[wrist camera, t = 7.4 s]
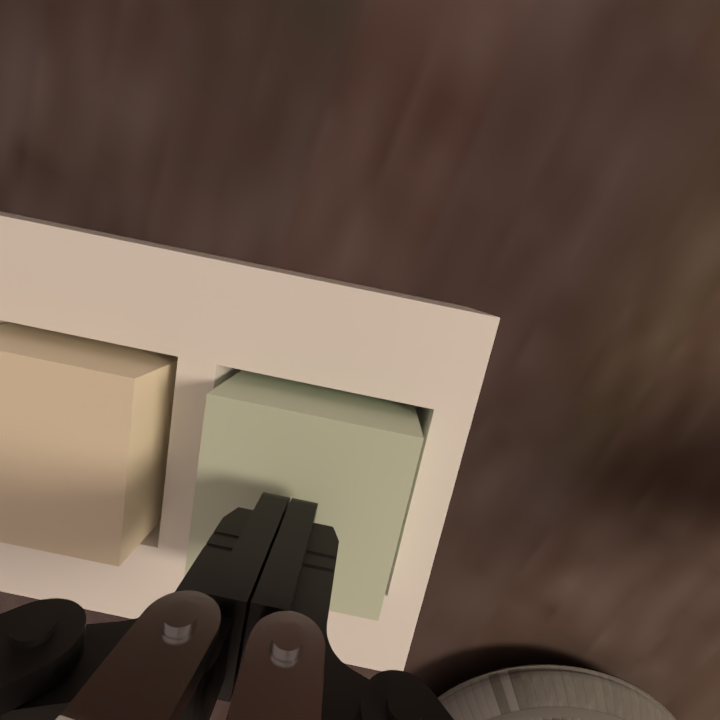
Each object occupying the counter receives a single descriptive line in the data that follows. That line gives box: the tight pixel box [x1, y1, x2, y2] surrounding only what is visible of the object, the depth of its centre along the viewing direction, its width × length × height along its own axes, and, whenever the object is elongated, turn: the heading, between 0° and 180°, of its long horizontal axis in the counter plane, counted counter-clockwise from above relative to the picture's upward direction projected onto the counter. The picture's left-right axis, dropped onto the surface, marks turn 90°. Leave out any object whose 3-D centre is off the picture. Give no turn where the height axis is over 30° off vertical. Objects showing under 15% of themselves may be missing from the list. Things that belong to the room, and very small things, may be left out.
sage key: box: [184, 370, 424, 621], centre depth 13 cm, size 6×6×3 cm
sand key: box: [0, 323, 178, 567], centre depth 13 cm, size 6×6×3 cm
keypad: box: [0, 211, 500, 671], centre depth 16 cm, size 25×16×5 cm, turn 79°
